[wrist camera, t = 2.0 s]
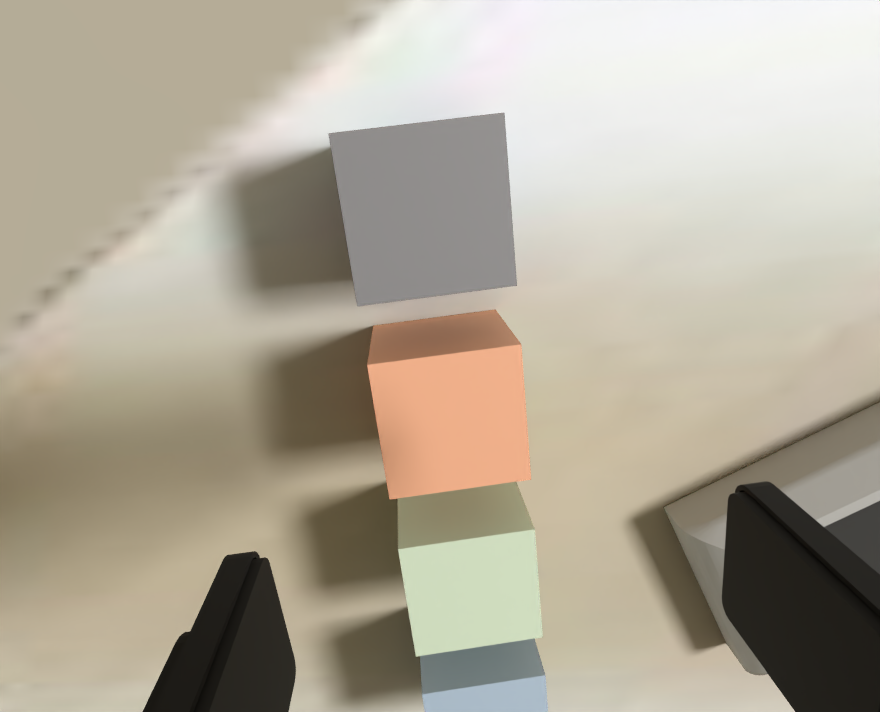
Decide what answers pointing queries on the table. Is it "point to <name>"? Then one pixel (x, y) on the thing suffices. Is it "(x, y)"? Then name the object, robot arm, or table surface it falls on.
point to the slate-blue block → (485, 679)
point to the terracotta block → (449, 403)
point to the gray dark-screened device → (810, 486)
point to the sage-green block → (469, 568)
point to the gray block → (426, 208)
